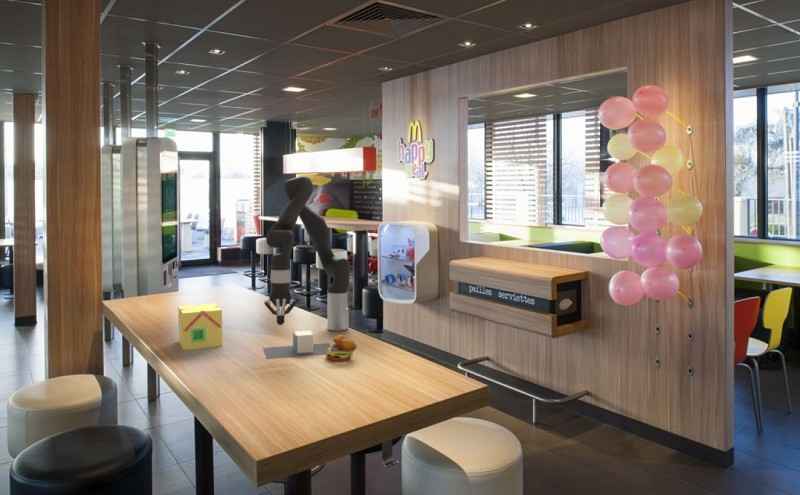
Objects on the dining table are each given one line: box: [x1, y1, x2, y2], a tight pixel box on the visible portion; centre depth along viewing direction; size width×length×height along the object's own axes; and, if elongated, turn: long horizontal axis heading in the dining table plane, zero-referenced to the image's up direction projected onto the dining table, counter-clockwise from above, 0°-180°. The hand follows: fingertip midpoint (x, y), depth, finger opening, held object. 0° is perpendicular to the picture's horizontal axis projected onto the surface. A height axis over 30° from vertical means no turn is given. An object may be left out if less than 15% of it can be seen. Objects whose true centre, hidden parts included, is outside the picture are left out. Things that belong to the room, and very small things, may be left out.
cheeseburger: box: [325, 334, 357, 362], centre depth 222 cm, size 10×11×10 cm
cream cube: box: [292, 330, 314, 353], centre depth 232 cm, size 7×7×7 cm
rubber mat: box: [262, 342, 332, 360], centre depth 232 cm, size 27×16×1 cm, turn 108°
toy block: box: [177, 302, 223, 351], centre depth 241 cm, size 15×15×15 cm
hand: (280, 324), depth 228 cm, fingers closed
